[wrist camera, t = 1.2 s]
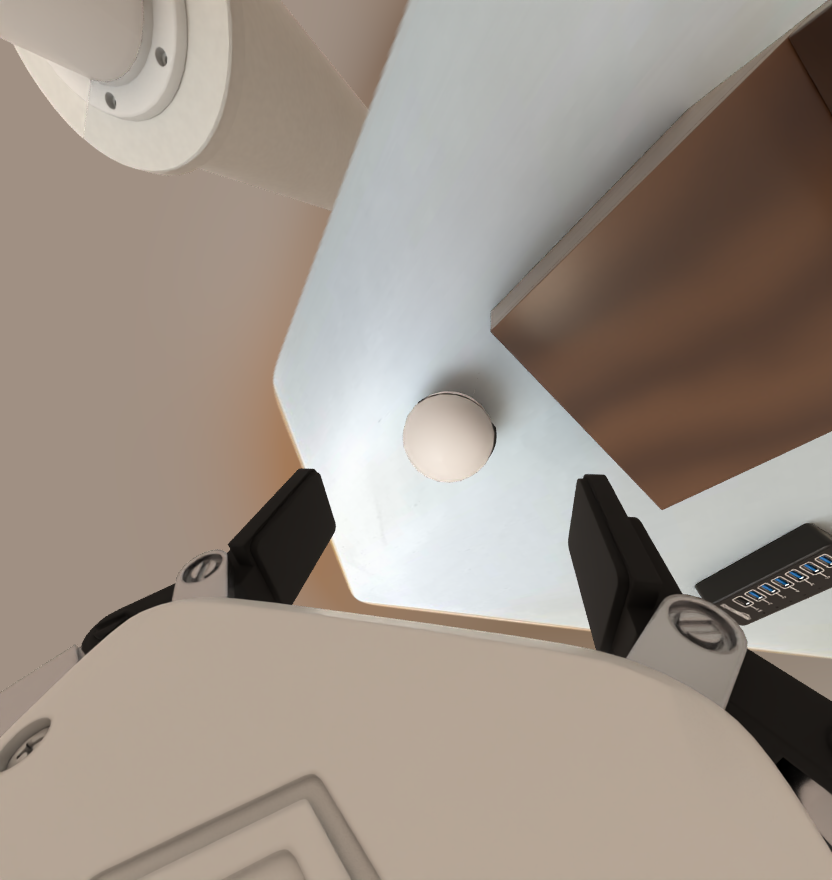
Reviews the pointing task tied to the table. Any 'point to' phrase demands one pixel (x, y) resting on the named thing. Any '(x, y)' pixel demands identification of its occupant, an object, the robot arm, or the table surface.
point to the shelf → (700, 284)
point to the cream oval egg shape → (448, 436)
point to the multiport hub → (773, 576)
